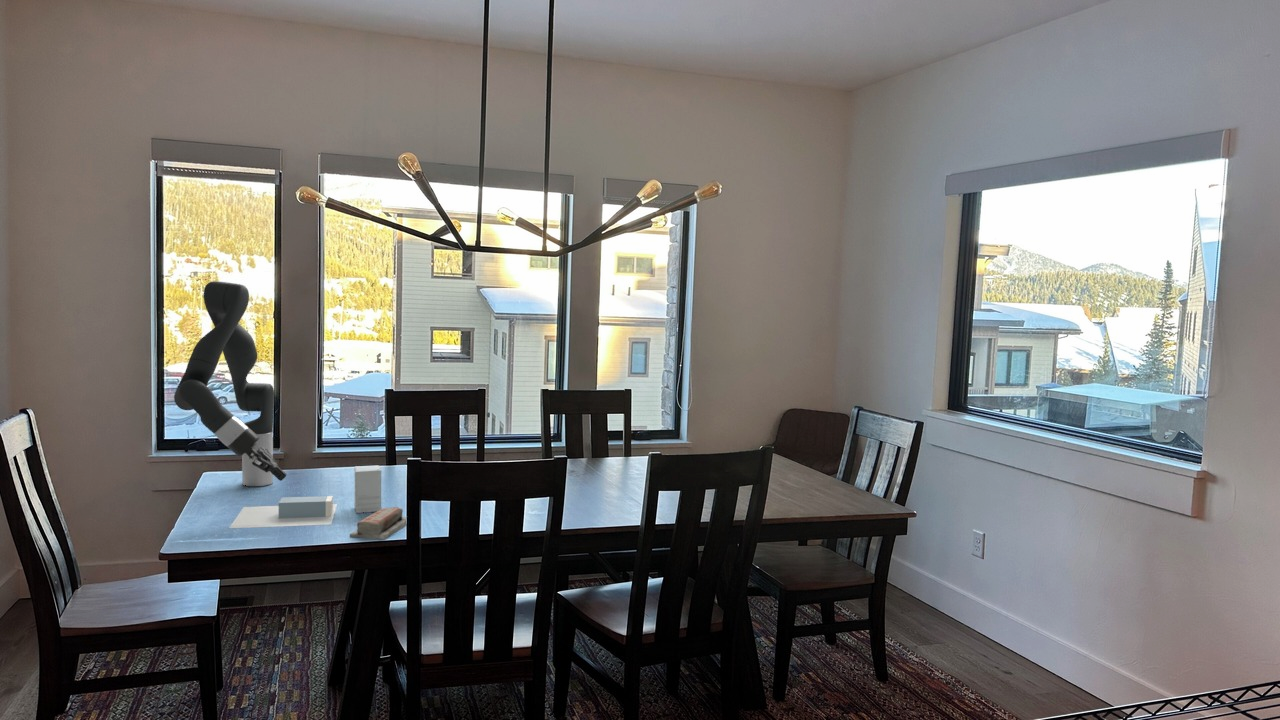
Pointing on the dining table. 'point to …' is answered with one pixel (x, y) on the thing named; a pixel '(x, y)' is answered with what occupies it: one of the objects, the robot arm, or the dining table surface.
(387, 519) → the packaged product
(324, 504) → the block
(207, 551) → the dining table surface
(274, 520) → the mat
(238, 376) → the robot arm
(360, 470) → the supplement box
